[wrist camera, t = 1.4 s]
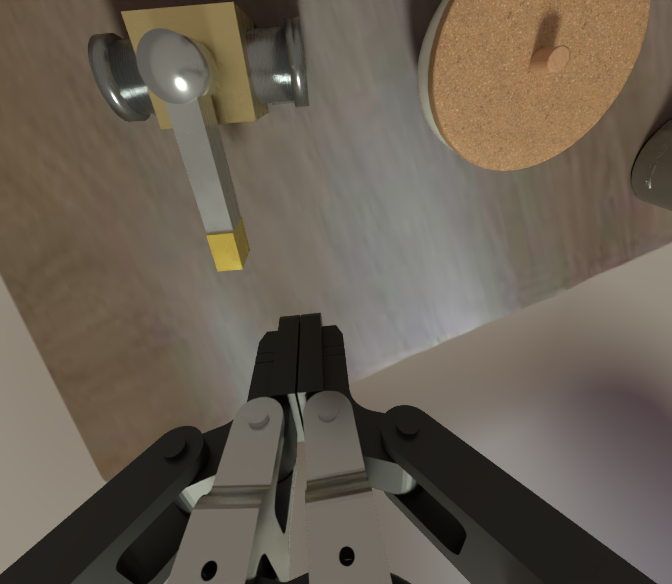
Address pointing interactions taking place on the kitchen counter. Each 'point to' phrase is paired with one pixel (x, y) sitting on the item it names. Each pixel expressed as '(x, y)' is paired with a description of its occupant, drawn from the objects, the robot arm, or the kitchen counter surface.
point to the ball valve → (228, 52)
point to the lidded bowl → (524, 74)
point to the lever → (196, 134)
